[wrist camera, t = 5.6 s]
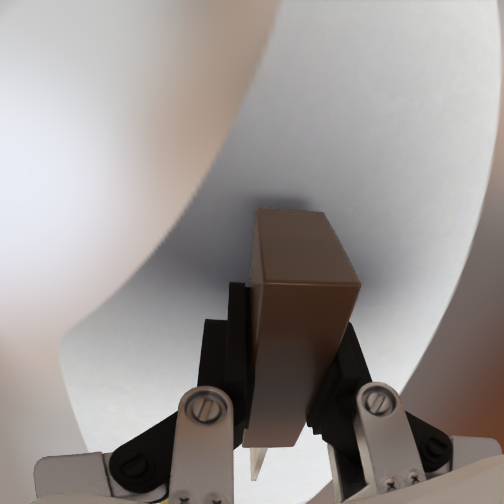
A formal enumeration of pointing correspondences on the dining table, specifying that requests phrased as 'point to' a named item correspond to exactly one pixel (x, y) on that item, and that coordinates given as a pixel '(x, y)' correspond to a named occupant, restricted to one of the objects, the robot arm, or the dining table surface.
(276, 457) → the dining table surface
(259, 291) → the knife
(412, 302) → the dining table surface
